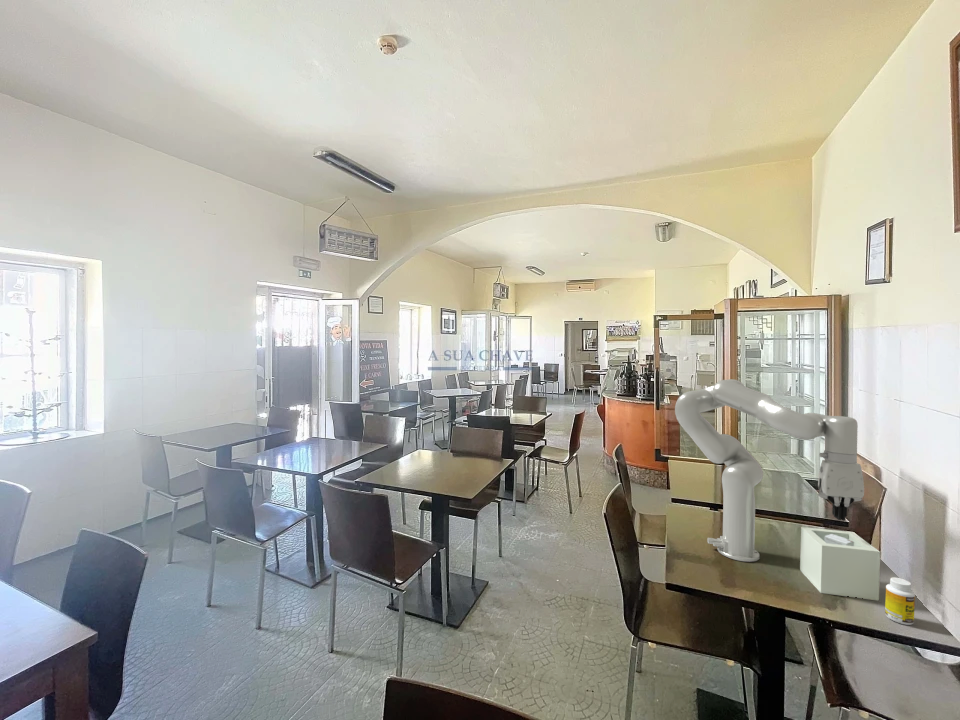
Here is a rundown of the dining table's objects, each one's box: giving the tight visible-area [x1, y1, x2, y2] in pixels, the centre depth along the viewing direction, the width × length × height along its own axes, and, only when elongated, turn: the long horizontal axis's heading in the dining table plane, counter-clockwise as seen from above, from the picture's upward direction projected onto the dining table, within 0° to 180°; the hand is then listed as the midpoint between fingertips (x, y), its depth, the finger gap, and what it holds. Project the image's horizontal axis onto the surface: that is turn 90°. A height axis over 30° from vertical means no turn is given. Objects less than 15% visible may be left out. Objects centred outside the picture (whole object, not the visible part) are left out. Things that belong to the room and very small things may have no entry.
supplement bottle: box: [884, 577, 916, 626], centre depth 116 cm, size 6×6×10 cm
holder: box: [799, 526, 881, 601], centre depth 133 cm, size 14×14×14 cm
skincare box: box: [824, 534, 854, 546], centre depth 133 cm, size 6×4×12 cm
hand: (839, 518), depth 132 cm, fingers closed
